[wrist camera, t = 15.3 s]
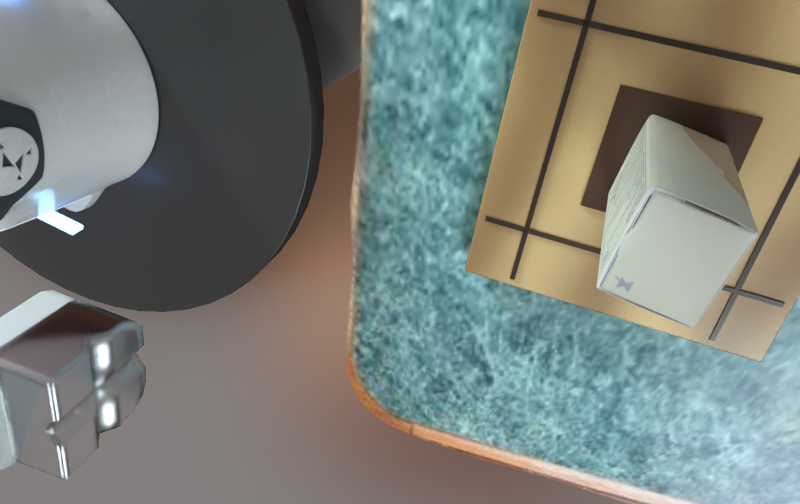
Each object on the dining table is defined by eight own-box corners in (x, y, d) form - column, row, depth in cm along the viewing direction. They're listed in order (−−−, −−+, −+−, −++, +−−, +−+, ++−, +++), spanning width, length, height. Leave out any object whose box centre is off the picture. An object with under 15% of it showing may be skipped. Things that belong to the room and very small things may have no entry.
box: (679, 225, 37) (689, 337, 27) (605, 193, 37) (589, 294, 28) (733, 139, 34) (764, 233, 24) (651, 106, 34) (651, 186, 25)
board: (469, 260, 44) (463, 272, 42) (553, -78, 33) (548, -76, 32) (757, 348, 40) (761, 364, 39) (950, 1, 30) (964, 6, 28)
